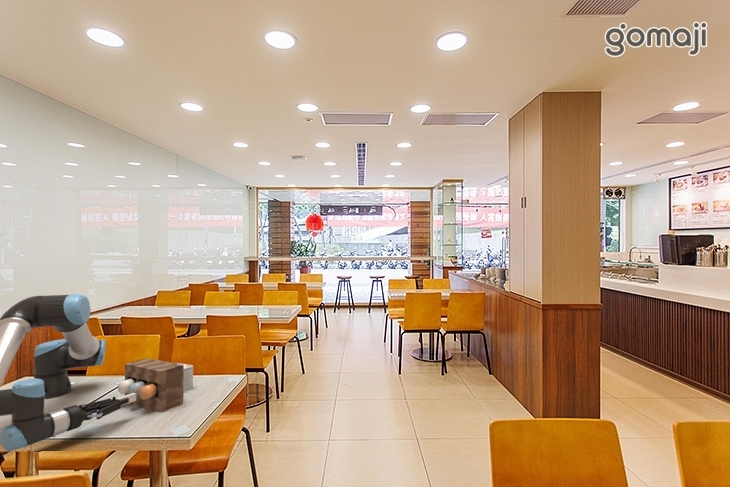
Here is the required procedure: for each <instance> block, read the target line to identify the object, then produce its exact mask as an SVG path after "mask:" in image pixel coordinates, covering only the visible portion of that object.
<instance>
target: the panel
mask: <svg viewBox="0 0 730 487" xmlns="http://www.w3.org/2000/svg"><path fill="white" fill-rule="evenodd" d="M180 364H181V363H180ZM180 364H176V363H174V362H170V361H163V360H158V359H154V358H149V357H148V358H143V359H140V360H135V361H132V362H131V361H130V362H126V363H124V381H125V380H128V379H133V381H136V383H137V382H140V381H142V382H144V384H145V383H147V385H150V384H154V385H155V386H157V385H158V392H157V393H156V395H155V396H154V397H151V398H148V399H145V400H142V399H141V398H140V395H137V396H136V401H134V402H131V403H129V404H130V405H135V406H138V407H141V408H145V409H148V410H152V411H155V412H159V413H163V412H166V411H169V410H170V409H173V408H175V407H176V408H177V406H180V405H183V404H184V392H183V378H184V365H180ZM126 395H129V392H127V393H124V396H126Z"/></svg>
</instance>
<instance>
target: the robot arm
mask: <svg viewBox="0 0 730 487" xmlns="http://www.w3.org/2000/svg"><path fill="white" fill-rule="evenodd" d="M90 305H91V304H90V301H89V299H88V297H87V296H86V295H84V294H75V293H71V294H55V295H54V294H53V295H35V296H29V297H27V298H25V299H22V300H20V301H18V302H17V303H15V304H13V305H12V306H11V307H10V308H9V309H7V310H6V311H5V312H4V313H3V314H2V315H1V316H0V388H1V386H2V385H3V382H4V381H5V379H6V376H7V374H8V371H9V370H10V368H11V365H12V364H13V361H14V359H15V357H16V355H17V353H18V350H19V348H20V346H21V344H22V342H23V340H24V338H25V336H27V335H28V334H29V333H30V332H31V331H32V330H33V328H34V329H35V328H40V327H41V328H43V327H44V328H45V327H52V328H53V329H54V330H55V331H56V332H60V333H61V334H62V336H63V337H64V338H62V339H56V340H51V341H47V342H42V343H40V344H38V345H36V347H35V348H34V355H33V358H34V359H33V360H34V361H33V378H30V379H23V380H19V381H16V382H15V383H14V384H13V385H12V387H11V388H9V389H7V388H6V389H0V417H3V416H11V423H9V424H8V425H6V426H4V427H3V428H2V429H1V432H0V444H1V447H2V449H3V450H5V451H6V452H12V451H16V450H19V449H23V448H26V447H28V446H29V447H30V446H31V445H33V444H37V443H39V442H42V441H45V440H47V439H50V438H54V439H55V438H56V436H58V435H62V434H64V433H66V432H70V431H73V430H75V429H78V428H80V427H81V426H82V425H83V422H84V421H90V420H92V419H93V418H96V420H101V419H102V418H104V417H105V416H107V415H110V414H111V413H114V412H116V411H118V410H120V409H122V408H121V407H122V406H124V405H128V404H130V403H131V402H134V401H136V393H132V394H129V395H126V396H125V395H123V396H120V397H116V396H112V398H106V399H102V400H101V399H100V400H98V401H93V402H90V403H89V402H88V403H84V404H79V405H77V404H74V405H70V406H67V407H64V408H61V409H60V408H59V409H58V410H55V411H50V412H47V413H45V400H46V399H52V398H56V397H60V396H63V395H66V394H68V393H71V391H72V386H73V385H72V383H71V380H70V378H69V376H68V369H76V368H87V367H96V366H101V365H103V363H104V361H105V356H106V355H105V354H106V347H107V346H106V345H107V344H106V343H107V342H106V340H105V339H98V338H97V337H96V336H94V335H92V332H91V331H90V328H89V325H88V324H87V323H88V322H89V320H90V316H91V306H90Z"/></svg>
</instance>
